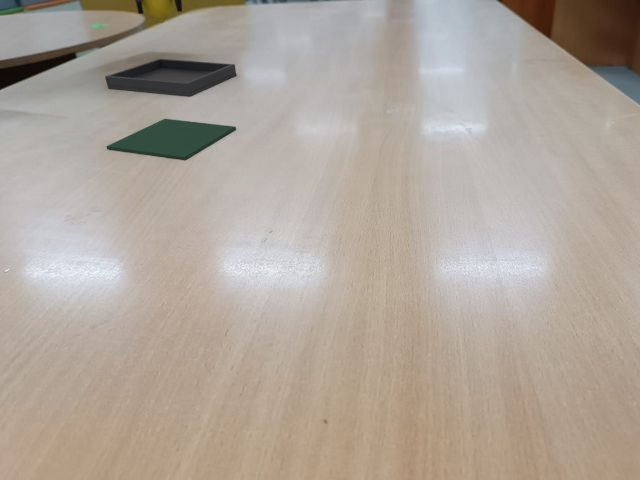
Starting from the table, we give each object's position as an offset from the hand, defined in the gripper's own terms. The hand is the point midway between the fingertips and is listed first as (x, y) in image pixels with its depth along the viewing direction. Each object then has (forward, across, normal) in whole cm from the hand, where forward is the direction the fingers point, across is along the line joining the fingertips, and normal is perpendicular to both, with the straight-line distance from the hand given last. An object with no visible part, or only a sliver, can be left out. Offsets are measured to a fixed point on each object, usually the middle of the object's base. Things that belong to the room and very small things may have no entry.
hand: (160, 6), depth 84 cm
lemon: (0, 0, -5) cm, 5 cm away
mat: (+29, +4, +11) cm, 31 cm away
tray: (+6, 0, -12) cm, 13 cm away
